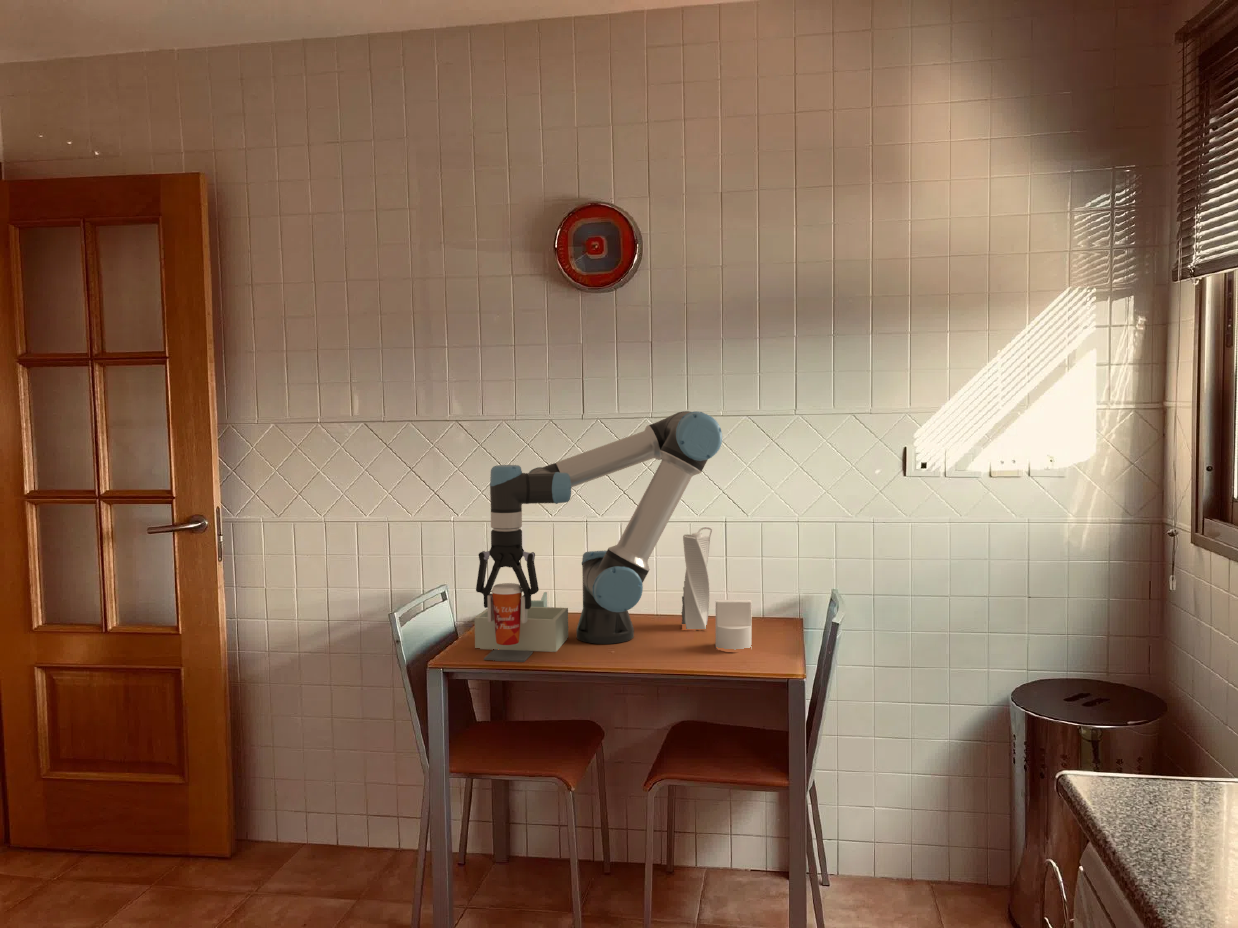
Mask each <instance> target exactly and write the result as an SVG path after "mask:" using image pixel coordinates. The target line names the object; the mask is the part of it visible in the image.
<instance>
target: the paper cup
mask: <svg viewBox="0 0 1238 928" xmlns="http://www.w3.org/2000/svg"><path fill="white" fill-rule="evenodd" d="M490 593H493V609H494V621H495V634H496V643H497V644H500V645H513V644H517V643H519V636H520V616H521V597H522V593H523V590H522V588H521V586H520V583H516V582H515V583H514V582H513V583H512V582H511V583H510V582H506V583H505V582H504V583H497V584H495V585H493V587H492V589H491V592H490Z"/></svg>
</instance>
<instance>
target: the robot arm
mask: <svg viewBox="0 0 1238 928" xmlns="http://www.w3.org/2000/svg"><path fill="white" fill-rule="evenodd" d="M722 443H723V431H722V428H721V426H720V424H719V422H718V421H717V420H716V419H715V418H714V417H712V415H709V414H708V413H704V412H702V411H695V410H694V411H687V410H686V411H685V410H684V411H679V412H677V413H674V414H671V415H670V416H667V417H666V418H663V419H660V420H658V421H655V422H654V423H651V424H649V425H646V426H645V429H644V430H642V431H641V432H637V433H635V434H632V435H630V436H627V437H623V438H621V439H618V440H615V441H613V442H609V443H607V444H604V445H601V446H598V447H595V448H593V449H589V450H586V451H584V452H581V453H579V454H576V455H573V456H570V457H567V458H565V459H562V460H559V461H556V462H554V463H550V464H548V465H545V466H539V467H538V466H537V467H535V468H533V469H531V470H529V472H523V470H522V467H521V465H518V464H499V465H498V464H497V465H494V466H492V467H491V469H490V481H489V489H490V490H489V491H490V492H489V493H490V494H489V495H490V528H492V530H491V531H490V545H491V546H490V549H489V550H487V551H485V550H482V551H480V552H479V553H478V554H477V555H478V560H479V566H478V572H477V579H476V586H475V587H476V588H475V592H476V593H480V594H482V595H483V607H484V608H485V609H487V608H488V622H492V621H493V620H494V609H493V593H492V592H491V591H492V590H493V586H494V584H495V582H496V580H497V576H498V575H499V572H500V570H501V568H509V569H510V568H512V571H513V572H514V574H515V576H516V578H517V581H518V584H519V585H520V586H521V589H522V590H523V592H522V593H523V595H521V617H522V623H526V622H527V609H530V608H531V600H532V595H535V594H537V593H538V592H539V591H540V590H539V589H540V588H539V583H538V577H537V572H536V565H535V557H536V552H534V551H532V552H528V551H525V550H524V548H523V530H522V529H521V528H522V527H523V512H522V511H523V510H522V509H523V505H529V504H555V505H557V504H565V503H568V502H570V500H571V498H572V488H573V487H577V486H579V485H582V484H585V483H588V482H590V481H594V480H595V479H597V480H598V479H599V478H602V477H604V476H607V475H611V474H613V473H616V472H619V471H622V470H625V469H627V468H631V467H632V466H635V465H638V464H642V463H644V462H646V461H649V460H652V459H655V460H658V461H660V463H659V465H658V467H657V468H656V470H655V473H654V474H653V476H652V478H651V479H650V482H649V484H648V485H647V488H646V489H645V491H644V493H643V495H642V497H641V498H640V501H639V503H638V505H637V507H636V508H635V510H634V512H633V514H632V516H631V517H630V520H629V521H628V523H627V525H626V527H625V530H623V533H622V535H621V537H620V538H619V540H618V542H617V544H615V545H613V546H610V547H608V549H607V550H591V551H585V552H583V554H582V559H581V560H582V561H581V566H582V568H581V569H582V572H581V573H582V611H581V614H580V617H579V620H578V623H577V627H576V639H577V640H579V641H581V642H583V643H588V644H597V645H598V644H600V645H603V644H604V645H607V644H608V645H611V644H618V643H619V644H620V643H625V642H628V641H630V640H632V639H634V637H635V629H634V625H633V622H632V620H631V616H630V614H629V610H631V609H633V608H635V606H636V605H637V604H638V603H639V601H640V600H641V598H642V595H643V590H644V585H643V584H644V582H645V579H646V577H647V576H648V574H649V571H650V570H651V569H650V566H649V562H648V561H649V559H650V557H651V554H652V553H653V552H654V549H655V547H656V546H657V544H658V541H659V540H660V537H661V536H662V534H663V532H664V530H665V528H666V527H667V525H668V523H669V521H670V519H671V517H672V515H673V513H674V511H675V509H676V508H677V505H679V502H680V500H681V499H682V497H683V495H684V493H685V491H686V489H687V487H688V485H689V484H690V481H691V479H692V478H693V477H694V476H696V475H700V474H701V473H702V471H703V469H704V468H705V466H706V464H707V462H708V461H709V460H710V459H711V458H713V457H714V456H716V454H717V453H718V452H719V450H720V449H721V447H722ZM490 558H492V560H493V561H494V563H493V565H492V567H491V568H492V569H491V571H490V573H489V577H488V579H487V581H486V576H487V575H486V574H487V568H488V560H490ZM522 558H524V560H525V561H526V568H527V573H528V579H529V580H527V577H526V576H525V572H524V570H523V569H522V568H523V567H522V564H521V562H520V561H521V559H522ZM485 581H486V583H485ZM528 581H529V582H528Z"/></svg>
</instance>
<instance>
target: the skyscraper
mask: <svg viewBox="0 0 1238 928" xmlns="http://www.w3.org/2000/svg"><path fill="white" fill-rule="evenodd" d="M703 530H709V531H710V532H709V535H708V536H707V535H703V533H702V532H701V531H703ZM712 532H713V529H712V528H710V527H707V526H706V527H702V528H700V529H698V531H697V532H692V533H691V534H687V533H686V534H683V536H682V541H683V552H684V561H685V562H684V563H685V568H686V569H685V573H684V574H685V575H684V581H683V587H682V589H683V591H682V592H683V595H682V596H681V600H682V601H681V602H682V606H681V607H682V608H681V618H682V619H681V624H686V629H706V625H707V626H708V619H709V611H710V610H709V609H710V582H709V581H710V579H709V574H708V573H709V572H708V569H707V566H708V560H709V553H710V544H711V536H712Z"/></svg>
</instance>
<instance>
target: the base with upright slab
mask: <svg viewBox="0 0 1238 928" xmlns="http://www.w3.org/2000/svg"><path fill="white" fill-rule="evenodd" d="M752 601H753V600H751V599H715V648H716V647H718V648H724V649H734V650H736V649H744V648H750V647H751V648H752V646H751V645H752V639H753V638H752V630H753V629H752V626H753V625H752V621H753V619H752V614H753V613H752V611H753V610H752V609H753V608H752V606H753V605H752V603H753V602H752Z"/></svg>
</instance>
